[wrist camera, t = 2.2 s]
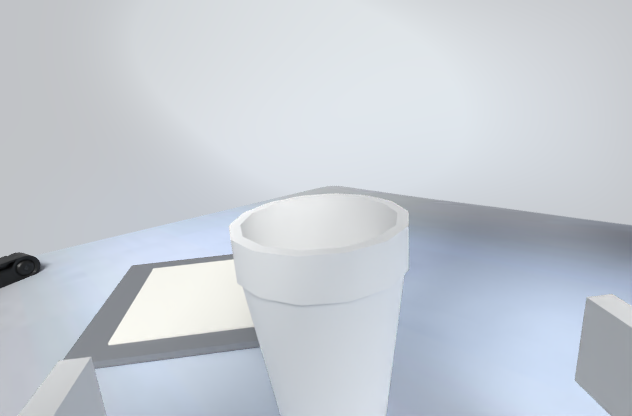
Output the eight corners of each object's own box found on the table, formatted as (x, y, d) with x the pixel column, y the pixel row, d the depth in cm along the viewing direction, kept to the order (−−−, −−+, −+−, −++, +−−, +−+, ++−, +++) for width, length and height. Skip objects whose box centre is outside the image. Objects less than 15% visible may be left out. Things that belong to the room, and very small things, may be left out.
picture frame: (334, 247, 51) (334, 241, 51) (368, 332, 34) (367, 323, 34) (133, 270, 49) (131, 264, 49) (60, 373, 32) (57, 364, 32)
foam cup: (247, 492, 22) (208, 263, 18) (265, 371, 30) (242, 200, 26) (431, 478, 21) (433, 246, 17) (395, 361, 30) (391, 188, 26)
